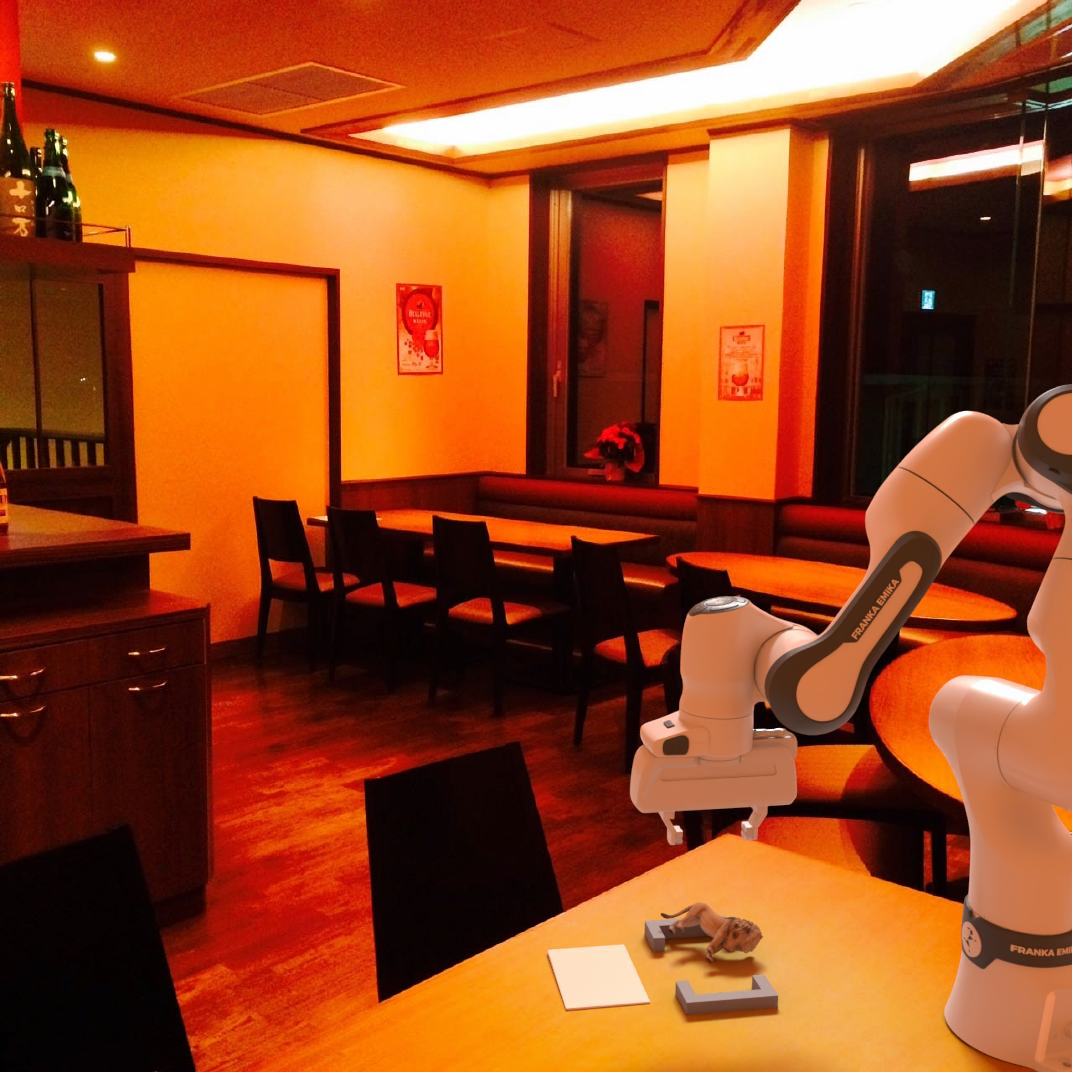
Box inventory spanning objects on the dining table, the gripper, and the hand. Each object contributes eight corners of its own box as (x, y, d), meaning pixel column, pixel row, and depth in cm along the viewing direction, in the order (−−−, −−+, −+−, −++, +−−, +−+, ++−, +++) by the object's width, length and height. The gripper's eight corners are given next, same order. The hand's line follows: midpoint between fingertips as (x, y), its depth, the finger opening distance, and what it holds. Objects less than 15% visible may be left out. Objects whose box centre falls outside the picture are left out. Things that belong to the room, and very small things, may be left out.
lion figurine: (730, 983, 133) (767, 943, 137) (730, 966, 131) (767, 925, 134) (659, 924, 141) (695, 887, 144) (656, 907, 138) (693, 869, 141)
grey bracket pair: (724, 929, 143) (724, 915, 143) (777, 1011, 124) (778, 995, 124) (644, 935, 141) (644, 920, 141) (686, 1019, 123) (686, 1002, 122)
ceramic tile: (624, 948, 138) (624, 944, 138) (649, 1006, 125) (650, 1001, 125) (547, 954, 136) (547, 949, 136) (565, 1013, 124) (566, 1008, 124)
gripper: (787, 719, 133) (783, 825, 135) (627, 726, 130) (625, 834, 132) (808, 735, 127) (803, 846, 129) (640, 743, 124) (638, 856, 126)
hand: (712, 840), depth 130 cm, fingers open, 8 cm apart
